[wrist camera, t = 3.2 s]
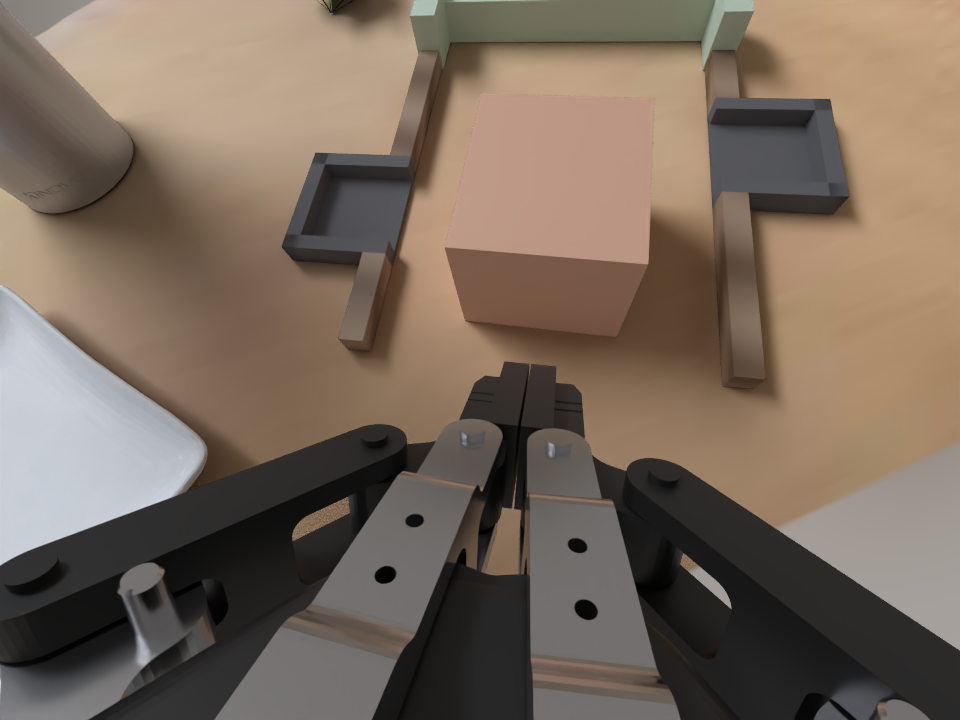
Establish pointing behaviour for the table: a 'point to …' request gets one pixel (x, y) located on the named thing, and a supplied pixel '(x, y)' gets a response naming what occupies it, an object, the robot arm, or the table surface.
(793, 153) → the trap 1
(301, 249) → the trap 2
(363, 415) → the table surface
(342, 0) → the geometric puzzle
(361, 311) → the walnut lane
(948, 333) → the table surface
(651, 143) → the terracotta block
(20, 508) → the salad plate
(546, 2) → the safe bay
